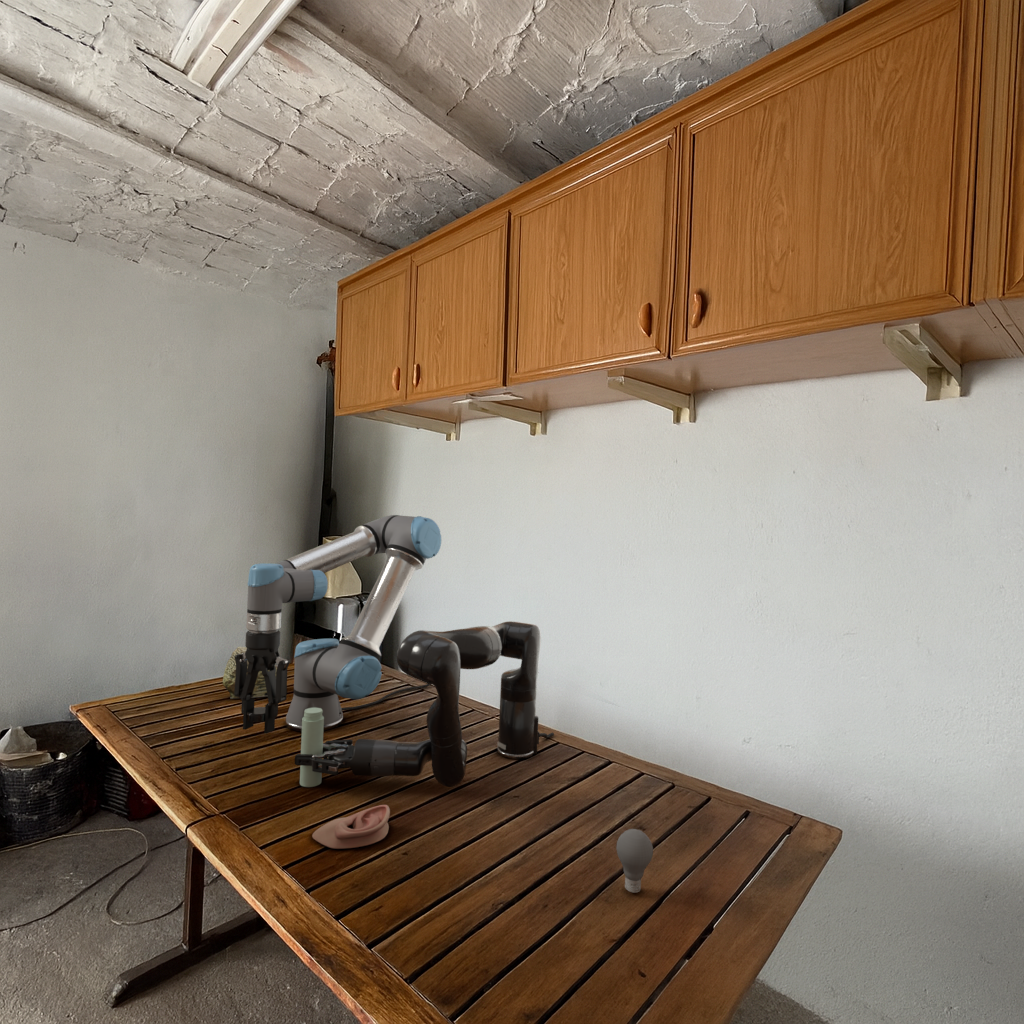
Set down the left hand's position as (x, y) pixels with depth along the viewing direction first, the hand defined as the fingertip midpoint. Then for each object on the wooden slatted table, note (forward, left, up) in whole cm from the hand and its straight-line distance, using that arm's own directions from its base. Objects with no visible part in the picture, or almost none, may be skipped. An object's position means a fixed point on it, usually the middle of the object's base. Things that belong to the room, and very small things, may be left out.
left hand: (258, 729), depth 148 cm
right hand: (-2, +15, -2) cm, 15 cm away
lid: (0, 0, +4) cm, 4 cm away
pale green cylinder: (-3, +17, -8) cm, 19 cm away
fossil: (-26, -48, -8) cm, 55 cm away
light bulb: (-17, +89, -8) cm, 91 cm away
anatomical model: (+4, +41, -8) cm, 42 cm away
